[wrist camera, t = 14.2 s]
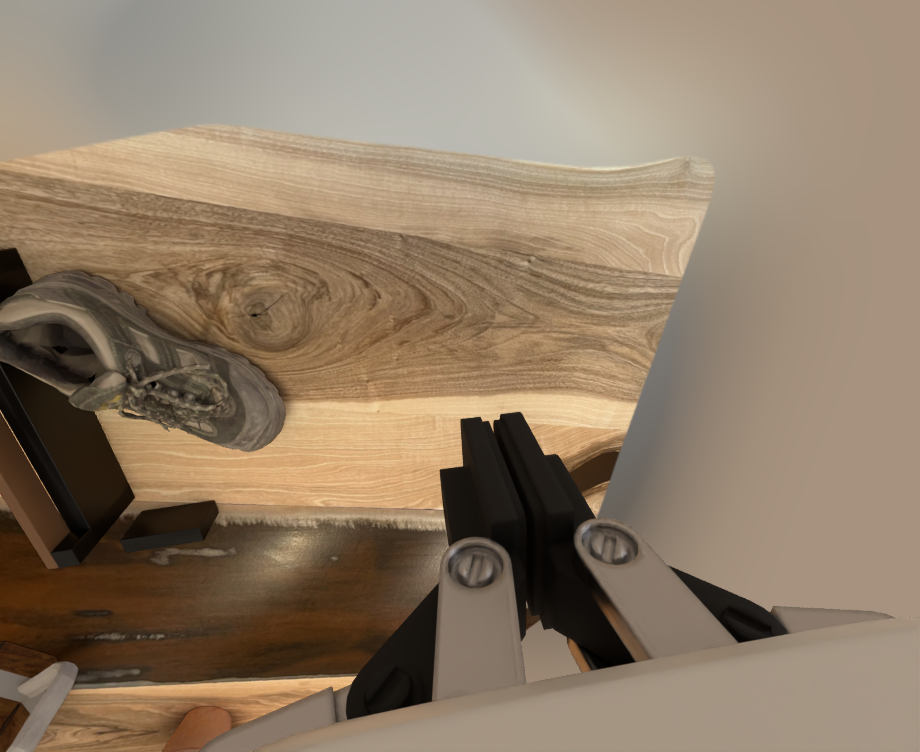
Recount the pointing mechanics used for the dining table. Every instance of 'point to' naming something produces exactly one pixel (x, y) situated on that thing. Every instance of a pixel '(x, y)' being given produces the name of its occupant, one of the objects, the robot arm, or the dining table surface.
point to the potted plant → (198, 729)
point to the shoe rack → (71, 468)
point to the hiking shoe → (135, 363)
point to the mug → (30, 694)
